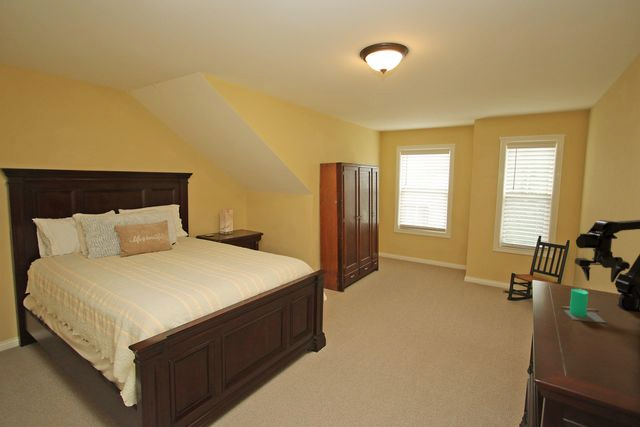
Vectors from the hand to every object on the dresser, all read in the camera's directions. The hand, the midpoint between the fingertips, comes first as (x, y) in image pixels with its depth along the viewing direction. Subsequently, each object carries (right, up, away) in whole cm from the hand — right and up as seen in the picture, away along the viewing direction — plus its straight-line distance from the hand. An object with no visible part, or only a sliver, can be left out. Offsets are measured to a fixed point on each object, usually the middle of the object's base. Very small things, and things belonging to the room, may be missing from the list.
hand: (599, 281), depth 153 cm
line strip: (-8, -13, +1) cm, 15 cm away
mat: (-13, -14, -7) cm, 20 cm away
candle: (-14, -14, -5) cm, 20 cm away
